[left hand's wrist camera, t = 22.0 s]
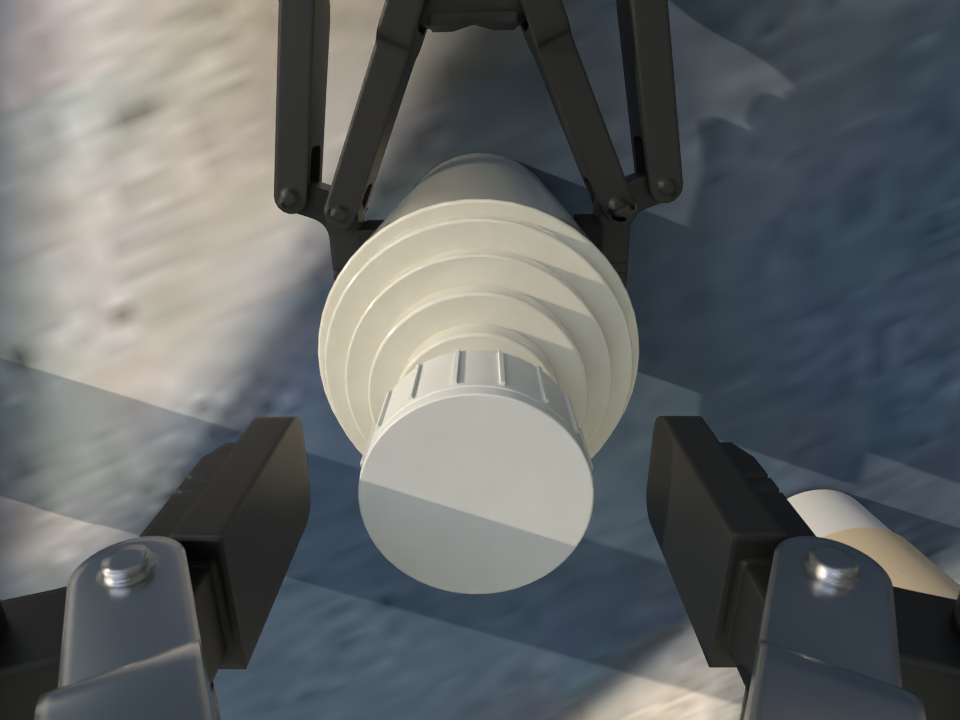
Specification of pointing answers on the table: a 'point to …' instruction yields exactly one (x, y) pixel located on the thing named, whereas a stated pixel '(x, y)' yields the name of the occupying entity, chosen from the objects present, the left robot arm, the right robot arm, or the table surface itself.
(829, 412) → the table surface
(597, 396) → the bottle
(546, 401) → the cap
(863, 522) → the coffee cup
